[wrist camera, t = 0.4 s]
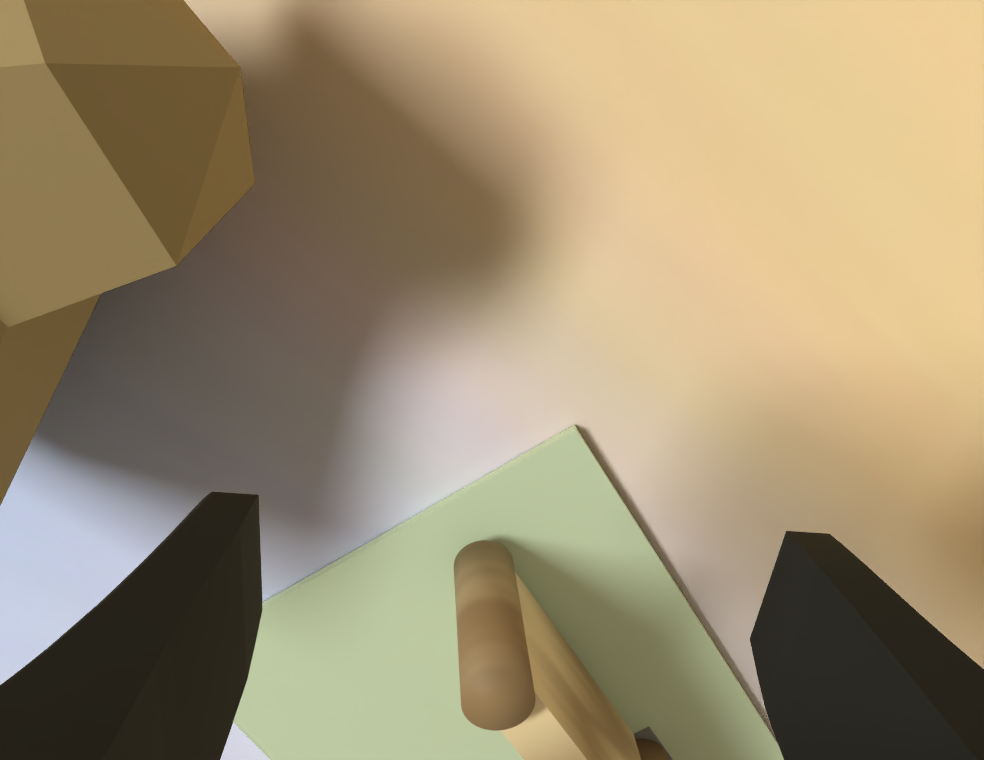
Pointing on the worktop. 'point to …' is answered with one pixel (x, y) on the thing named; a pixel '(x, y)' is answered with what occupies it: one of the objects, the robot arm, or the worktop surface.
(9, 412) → the low-poly potato
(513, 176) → the worktop surface
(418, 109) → the worktop surface
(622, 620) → the board
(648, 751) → the fixed fence
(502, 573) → the hinged panel
